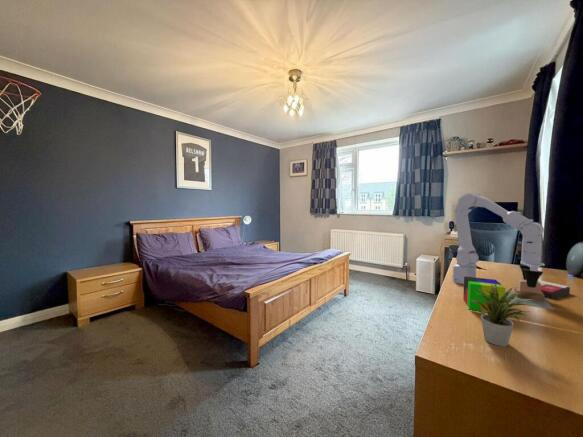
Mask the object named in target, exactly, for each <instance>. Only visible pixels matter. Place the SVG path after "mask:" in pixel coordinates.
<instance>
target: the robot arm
mask: <svg viewBox="0 0 583 437" xmlns="http://www.w3.org/2000/svg"><path fill="white" fill-rule="evenodd" d="M478 207H480V208H485V209H486V210H489V211H491V212H492V213H494V214H496V215H497V216H500V217H501V218H502V221H503V223H506V224H507V225H509V226H510V227H511V228H513V229H515V230H517V231H520V234H521V235H522V240H521V255H520V256H521V257H520V259H521V260H520V264H519V265H518V266H519V268H520V270H521V274H522V279H523V280H526V281H527V286H528V287H533V288H535V287H536V284H537V281H538V280H539V279H540V277H541V276H542V275H543V274H544V272H543V271H541V270H540V271H539V268H540V267H545V263H541V261H542V247H543V246H542V245H543V244H542V243H543V242H542V239H543V238H542V237H543V236H542V235H543V234H544V232H545V228H544V226H543V225H542V224H541V223H540V222H535V221H534V219H532V218H531V219H529V218H527V217H526V216H524V215H522V212H520V211H515V210H511V211H508V210H507V209H505V208H503V207H502V206H500V205H499V204H497V203H496V202H494V201H492V200H491V199H489V198H487V197H485V196H483V195H481V194H479V193H471V192H470V193H469V192H468V193H463V194H462V195H461V196H460V197H458V199H457V204H456V207H455V209H454V218H455V225H456V231H457V238H458V245H459V246H458V248H457V255H456V258H455V260H456V262H457V263H458V264H457V263H454V264H453V270H452V275H451V277H452V283H453V284H461V285H464V276H465V277H475V278H477V263H478V262H479V259H480V258H479V255H478V253H477V252H476V248H475V247H474V245H473V241H472V235H471V226H470V221H469V219H470V218H469V213H471V211H473V209H476V208H478Z"/></svg>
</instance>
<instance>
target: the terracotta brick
mask: <svg viewBox="0 0 583 437" xmlns="http://www.w3.org/2000/svg"><path fill="white" fill-rule="evenodd" d="M518 288H519V290H520V291H524V292H531V293H537V294H541V284H540V282H538V281H537V284H536V287H535V288H533V287H528V286H527V281H526V280H524V279H523V278H522V279H521V278H518Z"/></svg>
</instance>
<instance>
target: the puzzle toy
mask: <svg viewBox="0 0 583 437" xmlns="http://www.w3.org/2000/svg"><path fill="white" fill-rule="evenodd" d="M495 283H496V286H497V291H498V294H499V300H500V298H501V297H502V296H503V295H504V294H505V291H506V287H505V286H504V285H503V284H501V282H499V281H498V279H493V278H482V277H476V278H475V277H465V276H464V284H463V298H462V299H463V301H464V303H465V304H466V306H467V307H468V311H471V310H472V312H478V311H479V312H480V313H481V309H482V308H483V307H482V306H481V305H479V304H478V303H476V302H474V301H472V300H478V301H480V302H481V303H483V304H484V305H485V306H486V307H487V309H488V310H489V308H488V306H487V305H488V304H486V303H487V302H486V300H485V298H484V297H483V295H482V294H481V292H480V291H479V290H478V288H479V289H480V290H482V291H483V292H484V293H485V295H486V296H488V297H489V298H490V293H489V292H490V290H491V285H493V286H494V288H495ZM488 291H489V292H488ZM477 293H478V294H479V295H480V296H481V297H482V298H483V299H484V300H483V299H482V298H481V297H480V296H479V295H478V294H477ZM485 302H486V303H485ZM483 309H485V308H483ZM489 311H490V310H489ZM479 312H478V313H479Z"/></svg>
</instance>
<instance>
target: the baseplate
mask: <svg viewBox="0 0 583 437" xmlns="http://www.w3.org/2000/svg"><path fill="white" fill-rule="evenodd" d="M507 291H508V290H505V293H506V292H507ZM514 293H515V291H511V292H510V293H509V295H508V296H507V298H508V297H509V296H510V295H512V294H514ZM514 299H515V300H521V299H526V298H520V297H517V296H515V298H514ZM515 300H512V301H511V302H510V303H512V302H514V301H515ZM522 301H525V302H521V303H520V304H528V305H527V306H529V305H534V306H533V307H535V308H541V309H547V310H551V311H555V308H553V307H552V304H550V303H549V301H548V300H547V299H546V297H544V301H539V300H533V299H532V300H522ZM518 302H520V301H518ZM527 302H529V303H527ZM514 303H517V302H514ZM529 307H530V306H529Z"/></svg>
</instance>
